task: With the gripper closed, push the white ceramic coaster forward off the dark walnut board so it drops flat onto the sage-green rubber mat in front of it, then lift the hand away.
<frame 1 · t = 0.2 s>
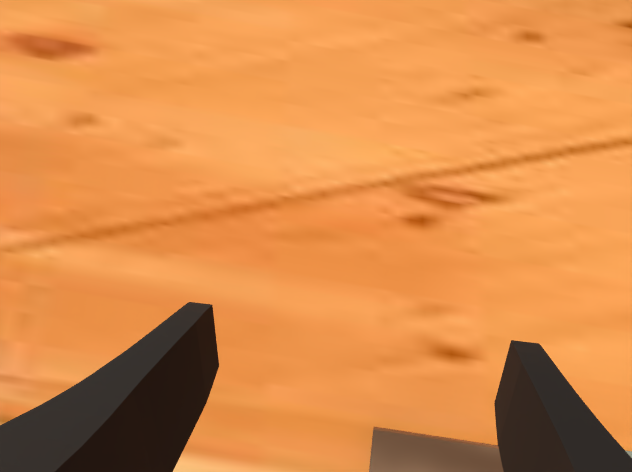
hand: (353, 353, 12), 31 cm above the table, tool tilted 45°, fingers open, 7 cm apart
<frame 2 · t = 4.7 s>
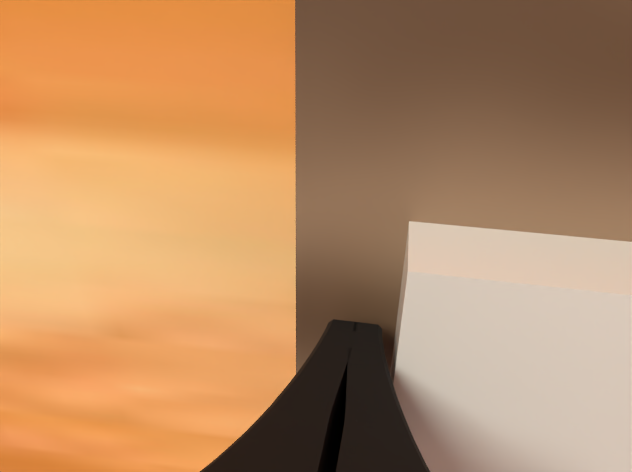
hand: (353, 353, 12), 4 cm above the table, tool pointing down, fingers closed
walnut board: (482, 285, 15), on the table
coaster: (539, 361, 12), point 3 cm above the table, touching gripper, walnut board
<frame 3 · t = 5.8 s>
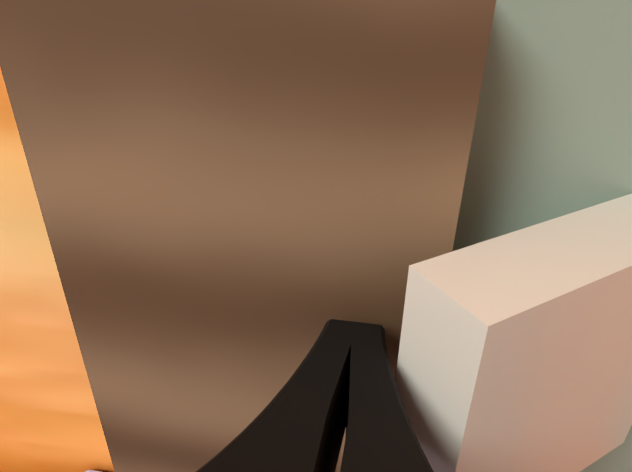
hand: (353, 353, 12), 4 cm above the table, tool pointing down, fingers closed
walnut board: (269, 262, 16), on the table
coaster: (505, 346, 13), point 3 cm above the table, tilted 39°, touching gripper
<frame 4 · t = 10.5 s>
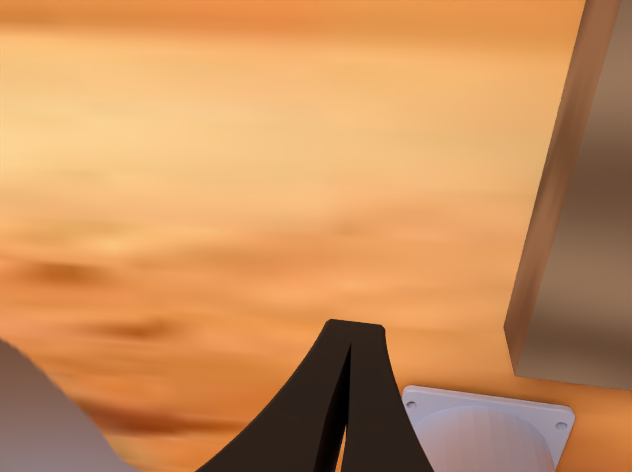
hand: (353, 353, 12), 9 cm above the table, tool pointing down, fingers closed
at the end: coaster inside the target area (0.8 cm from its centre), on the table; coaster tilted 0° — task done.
